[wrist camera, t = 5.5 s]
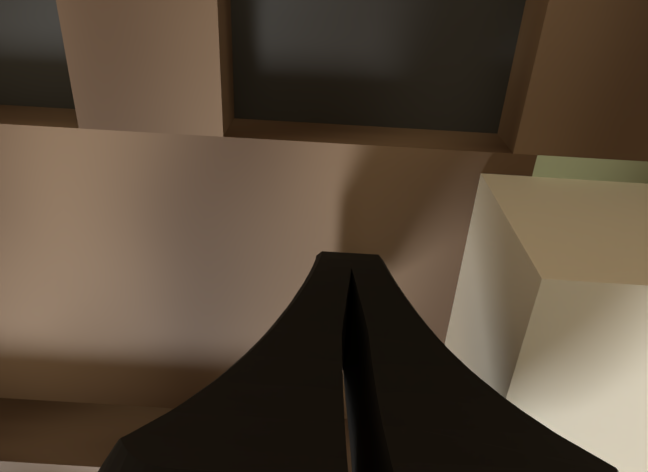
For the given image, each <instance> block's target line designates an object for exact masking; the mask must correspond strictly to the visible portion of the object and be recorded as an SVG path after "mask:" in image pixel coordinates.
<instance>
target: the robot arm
mask: <svg viewBox="0 0 648 472" xmlns="http://www.w3.org/2000/svg"><path fill="white" fill-rule="evenodd" d="M343 376H344V387H345V398H346V409H347V420H348V431H349V441H350V452H351V465H352V472H619V471H618V470H617V468H616V467H614V466H612V465H610V464H609V463H607V462H605V461H603V460H602V459H600V458H598V457H596V456H595V455H593V454H591V453H589V452H588V451H586V450H584V449H582V448H581V447H579V446H577V445H576V444H574V443H572V442H570V441H569V440H567V439H565V438H563V437H562V436H560V435H558V434H557V433H555V432H553V431H552V430H550V429H549V428H547V427H546V426H544V425H543V424H541V423H540V422H538V421H537V420H535V419H534V418H532V417H531V416H529V415H528V414H526V413H525V412H523V411H522V410H521V409H519V408H518V407H517V406H515V405H514V404H512V403H511V402H510V401H508V400H507V399H506V398H504V397H503V396H502V395H500V394H499V393H498V392H497V391H495V390H494V389H493V388H492V387H490V386H489V385H488V384H487V383H485V382H484V381H483V380H482V379H480V378H479V377H478V376H477V375H476V374H475V373H474V372H472V371H471V370H470V369H469V368H468V367H467V366H466V365H465V364H464V363H463V362H462V361H460V360H459V359H458V358H457V357H456V356H455V355H454V354H453V353H452V352H451V351H450V350H449V349H448V348H447V347H446V346H445V345H444V344H443V342H442V341H441V340H440V339H439V338H438V337H437V336H436V335H435V333H434V332H433V331H432V330H431V329H430V328H429V326H428V325H427V324H426V323H425V321H424V320H423V319H422V318H421V316H420V315H419V314H418V313H417V311H416V310H415V308H414V307H413V306H412V304H411V303H410V302H409V300H408V299H407V298H406V296H405V295H404V293H403V292H402V290H401V289H400V287H399V286H398V284H397V283H396V281H395V280H394V278H393V276H392V275H391V273H390V271H389V270H388V268H387V266H386V264H385V263H384V261H383V259H382V258H381V257H380V256H379V255H377V254H360V253H344V252H327V251H322V252H320V253H319V254H318V255H316V259H315V262H314V264H313V266H312V268H311V270H310V272H309V274H308V276H307V278H306V279H305V281H304V283H303V284H302V286H301V287H300V289H299V290H298V292H297V294H296V295H295V297H294V298H293V300H292V301H291V302H290V304H289V305H288V306H287V308H286V309H285V310H284V311H283V313H282V314H281V315H280V317H279V318H278V319H277V320H276V322H275V323H274V324H273V325H272V326H271V328H270V329H269V330H268V331H267V332H266V333H265V334H264V335H263V336H262V338H261V339H260V340H259V341H258V342H257V343H256V344H255V345H254V346H253V347H252V348H251V349H250V350H249V351H248V352H247V353H246V354H245V355H243V356H242V357H241V358H240V359H239V360H238V361H237V362H236V363H234V364H233V365H232V366H231V367H230V368H229V369H228V370H226V371H225V372H224V373H223V374H222V375H220V376H219V377H218V378H217V379H215V380H214V381H213V382H212V383H210V384H209V385H207V386H206V387H204V388H203V389H202V390H200V391H199V392H197V393H196V394H195V395H193V396H192V397H190V398H189V399H187V400H186V401H185V402H183V403H182V404H180V405H179V406H177V407H176V408H174V409H172V410H171V411H169V412H167V413H166V414H164V415H162V416H160V417H158V418H157V419H155V420H153V421H151V422H149V423H148V424H146V425H144V426H142V427H140V428H139V429H137V430H135V431H133V432H131V433H129V434H127V435H125V436H123V437H122V438H120V439H119V440H118V441H117V443H116V444H115V445H114V447H113V448H112V450H111V452H110V453H109V455H108V456H107V458H106V459H105V461H104V462H103V464H102V465H101V467H100V469H99V471H98V472H348V464H347V450H346V435H345V419H344V398H343Z"/></svg>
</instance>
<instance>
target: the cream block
mask: <svg viewBox="0 0 648 472" xmlns="http://www.w3.org/2000/svg"><path fill="white" fill-rule="evenodd" d="M445 346H446V347H447V348H448V349H449V350H450V351H451V352H452V353H453V354H454V355H455V356H456V357H457V358H458V359H459V360H460V361H462V362H463V363H464V364H465V365H466V366H467V367H468V368H469V369H470V370H471V371H472V372H474V373H475V374H476V375H477V376H478V377H479V378H480V379H482V380H483V381H484V382H485V383H487V384H488V385H489V386H490V387H492V388H493V389H494V390H495V391H497V392H498V393H499V394H500V395H502V396H503V397H504V398H506V399H507V400H508V401H510V402H511V403H512V404H514V405H515V406H517V407H518V408H519V409H521V410H522V411H523V412H525V413H526V414H528V415H529V416H531V417H532V418H534V419H535V420H537V421H538V422H540V423H541V424H543V425H544V426H546V427H547V428H549V429H550V430H552V431H553V432H555V433H557V434H558V435H560V436H562V437H563V438H565V439H567V440H569V441H570V442H572V443H574V444H576V445H577V446H579V447H581V448H582V449H584V450H586V451H588V452H589V453H591V454H593V455H595V456H596V457H598V458H600V459H602V460H603V461H605V462H607V463H609V464H610V465H612V466H614V467H616V468H617V470H618V471H619V472H648V184H645V183H629V182H613V181H597V180H581V179H565V178H549V177H533V176H517V175H501V174H485V173H481V174H480V179H479V184H478V188H477V193H476V198H475V203H474V207H473V212H472V217H471V222H470V226H469V231H468V236H467V241H466V245H465V250H464V255H463V260H462V264H461V269H460V274H459V279H458V283H457V288H456V293H455V298H454V302H453V307H452V312H451V317H450V321H449V326H448V331H447V335H446V340H445Z"/></svg>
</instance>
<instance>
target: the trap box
mask: <svg viewBox="0 0 648 472" xmlns="http://www.w3.org/2000/svg"><path fill="white" fill-rule="evenodd" d="M481 173H485V174H501V175H517V176H533V177H549V178H565V179H581V180H597V181H613V182H629V183H645V184H648V0H0V472H98V471H99V469H100V467H101V465H102V464H103V462H104V461H105V459H106V458H107V456H108V455H109V453H110V452H111V450H112V448H113V447H114V445H115V444H116V443H117V441H118V440H119V439H120V438H122V437H123V436H125V435H127V434H129V433H131V432H133V431H135V430H137V429H139V428H140V427H142V426H144V425H146V424H148V423H149V422H151V421H153V420H155V419H157V418H158V417H160V416H162V415H164V414H166V413H167V412H169V411H171V410H172V409H174V408H176V407H177V406H179V405H180V404H182V403H183V402H185V401H186V400H187V399H189V398H190V397H192V396H193V395H195V394H196V393H197V392H199V391H200V390H202V389H203V388H204V387H206V386H207V385H209V384H210V383H212V382H213V381H214V380H215V379H217V378H218V377H219V376H220V375H222V374H223V373H224V372H225V371H226V370H228V369H229V368H230V367H231V366H232V365H233V364H234V363H236V362H237V361H238V360H239V359H240V358H241V357H242V356H243V355H245V354H246V353H247V352H248V351H249V350H250V349H251V348H252V347H253V346H254V345H255V344H256V343H257V342H258V341H259V340H260V339H261V338H262V336H263V335H264V334H265V333H266V332H267V331H268V330H269V329H270V328H271V326H272V325H273V324H274V323H275V322H276V320H277V319H278V318H279V317H280V315H281V314H282V313H283V311H284V310H285V309H286V308H287V306H288V305H289V304H290V302H291V301H292V300H293V298H294V297H295V295H296V294H297V292H298V290H299V289H300V287H301V286H302V284H303V283H304V281H305V279H306V278H307V276H308V274H309V272H310V270H311V268H312V266H313V264H314V262H315V259H316V255H318V254H319V253H320V252H322V251H327V252H344V253H360V254H377V255H379V256H380V257H381V258H382V259H383V261H384V263H385V264H386V266H387V268H388V270H389V271H390V273H391V275H392V276H393V278H394V280H395V281H396V283H397V284H398V286H399V287H400V289H401V290H402V292H403V293H404V295H405V296H406V298H407V299H408V300H409V302H410V303H411V304H412V306H413V307H414V308H415V310H416V311H417V313H418V314H419V315H420V316H421V318H422V319H423V320H424V321H425V323H426V324H427V325H428V326H429V328H430V329H431V330H432V331H433V332H434V333H435V335H436V336H437V337H438V338H439V339H440V340H441V341H442V342H443V344H444V345H445V340H446V335H447V331H448V326H449V321H450V317H451V312H452V307H453V302H454V298H455V293H456V288H457V283H458V279H459V274H460V269H461V264H462V260H463V255H464V250H465V245H466V241H467V236H468V231H469V226H470V222H471V217H472V212H473V207H474V203H475V198H476V193H477V188H478V184H479V179H480V174H481ZM343 398H344V419H345V435H346V450H347V464H348V472H352V465H351V452H350V441H349V431H348V420H347V409H346V398H345V387H344V376H343Z"/></svg>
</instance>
